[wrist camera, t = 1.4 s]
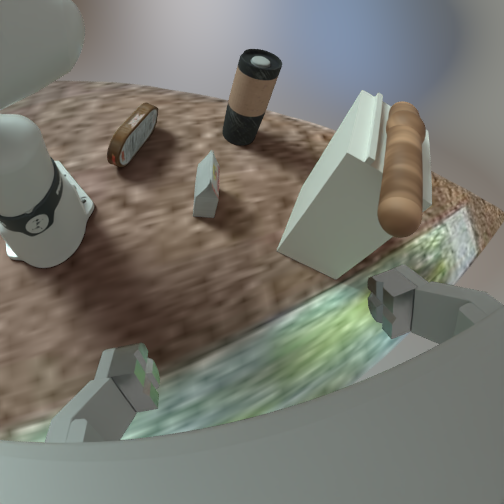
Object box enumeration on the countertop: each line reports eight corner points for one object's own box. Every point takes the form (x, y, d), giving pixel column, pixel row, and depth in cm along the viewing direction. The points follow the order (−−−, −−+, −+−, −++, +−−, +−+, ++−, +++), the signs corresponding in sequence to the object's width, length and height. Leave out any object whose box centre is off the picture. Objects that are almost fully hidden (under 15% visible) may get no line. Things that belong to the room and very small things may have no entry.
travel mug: (261, 143, 64) (290, 69, 47) (230, 149, 61) (252, 71, 44) (246, 120, 66) (269, 48, 49) (215, 125, 64) (233, 49, 46)
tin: (148, 123, 60) (148, 93, 52) (160, 127, 60) (161, 97, 53) (108, 172, 53) (102, 142, 46) (122, 177, 53) (117, 147, 46)
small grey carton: (192, 216, 53) (197, 182, 44) (195, 185, 56) (200, 148, 47) (213, 217, 54) (222, 184, 45) (214, 186, 57) (223, 150, 48)
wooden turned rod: (405, 254, 27) (440, 230, 23) (361, 230, 27) (393, 200, 23) (410, 129, 38) (430, 105, 33) (381, 110, 37) (398, 84, 33)
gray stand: (335, 279, 55) (436, 200, 31) (276, 251, 54) (351, 146, 30) (352, 213, 62) (431, 126, 38) (301, 187, 62) (365, 84, 38)
